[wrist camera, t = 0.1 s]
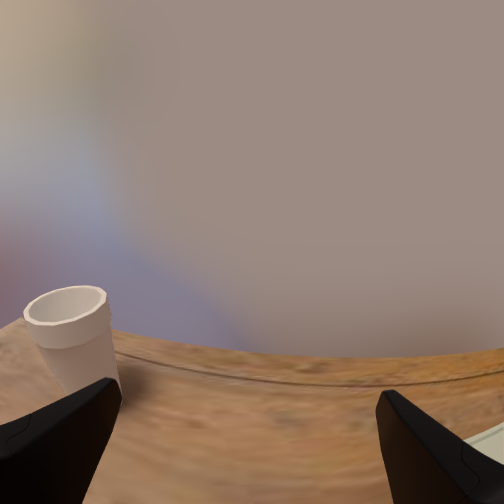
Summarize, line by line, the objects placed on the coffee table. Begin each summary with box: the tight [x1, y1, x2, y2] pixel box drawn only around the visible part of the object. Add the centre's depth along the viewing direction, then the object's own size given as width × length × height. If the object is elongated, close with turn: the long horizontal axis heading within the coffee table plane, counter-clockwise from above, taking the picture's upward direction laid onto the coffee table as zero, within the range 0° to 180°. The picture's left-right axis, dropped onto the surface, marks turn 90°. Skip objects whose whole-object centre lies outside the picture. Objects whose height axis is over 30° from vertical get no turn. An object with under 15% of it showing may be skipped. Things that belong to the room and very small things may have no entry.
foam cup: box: [23, 286, 123, 407], centre depth 24 cm, size 10×9×13 cm
